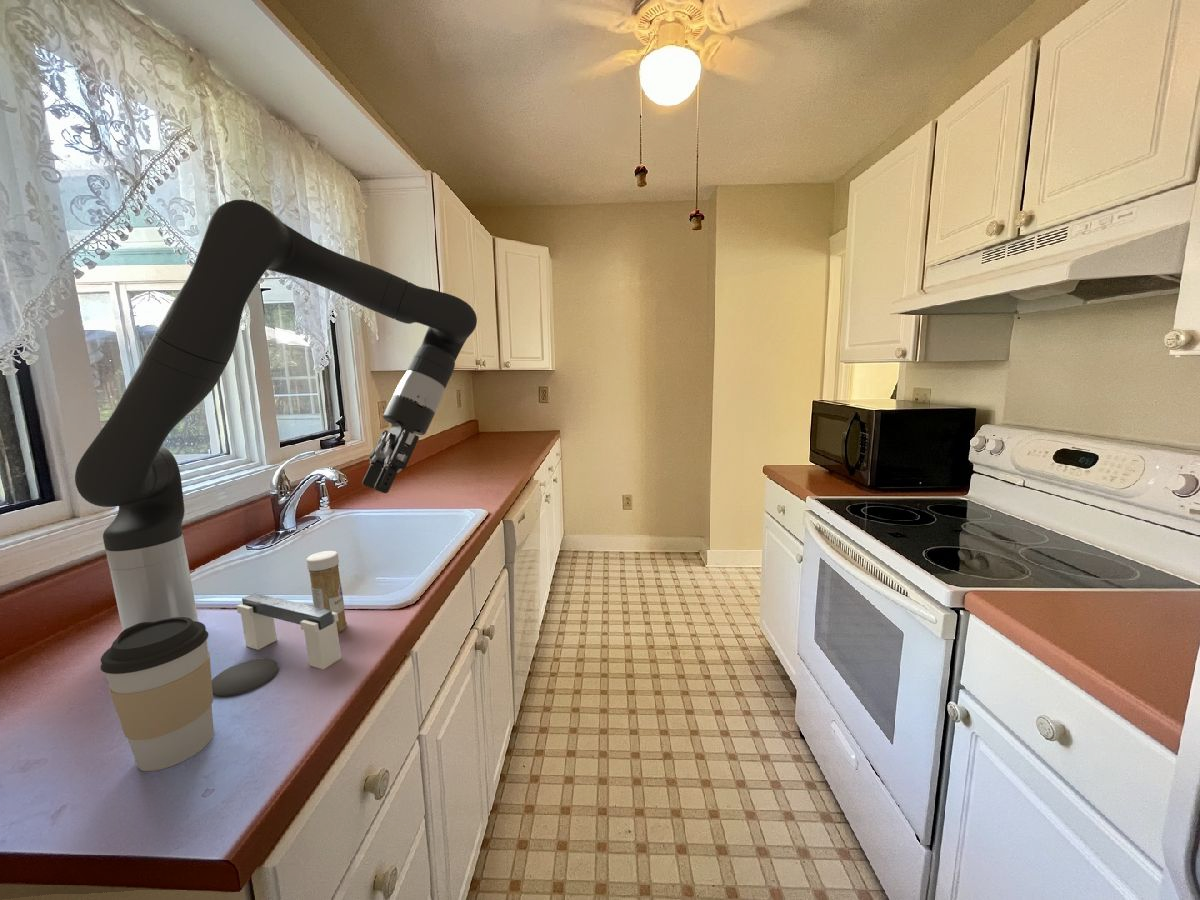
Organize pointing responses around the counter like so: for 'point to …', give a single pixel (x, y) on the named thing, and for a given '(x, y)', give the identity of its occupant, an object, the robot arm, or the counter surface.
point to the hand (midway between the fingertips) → (373, 488)
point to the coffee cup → (162, 690)
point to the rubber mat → (244, 677)
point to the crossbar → (288, 610)
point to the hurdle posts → (318, 642)
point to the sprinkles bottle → (327, 584)
